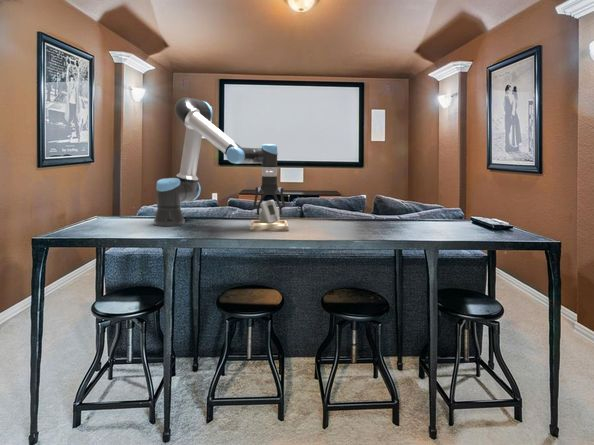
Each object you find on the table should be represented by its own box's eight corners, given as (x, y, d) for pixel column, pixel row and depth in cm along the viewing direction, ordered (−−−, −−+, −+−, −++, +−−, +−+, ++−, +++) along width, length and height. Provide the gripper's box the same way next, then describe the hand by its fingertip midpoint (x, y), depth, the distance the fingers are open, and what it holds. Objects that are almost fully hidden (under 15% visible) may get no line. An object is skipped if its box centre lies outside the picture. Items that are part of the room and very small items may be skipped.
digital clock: (269, 224, 207) (269, 202, 206) (253, 223, 211) (253, 201, 210) (285, 221, 222) (285, 200, 220) (270, 219, 226) (270, 199, 224)
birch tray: (250, 231, 207) (250, 225, 206) (251, 224, 226) (251, 220, 226) (288, 231, 208) (288, 226, 208) (286, 225, 228) (286, 220, 227)
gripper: (247, 175, 209) (247, 222, 212) (291, 176, 211) (290, 222, 214) (248, 175, 216) (248, 220, 220) (290, 175, 218) (289, 220, 221)
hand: (269, 221), depth 217 cm, fingers closed on digital clock, 8 cm apart
